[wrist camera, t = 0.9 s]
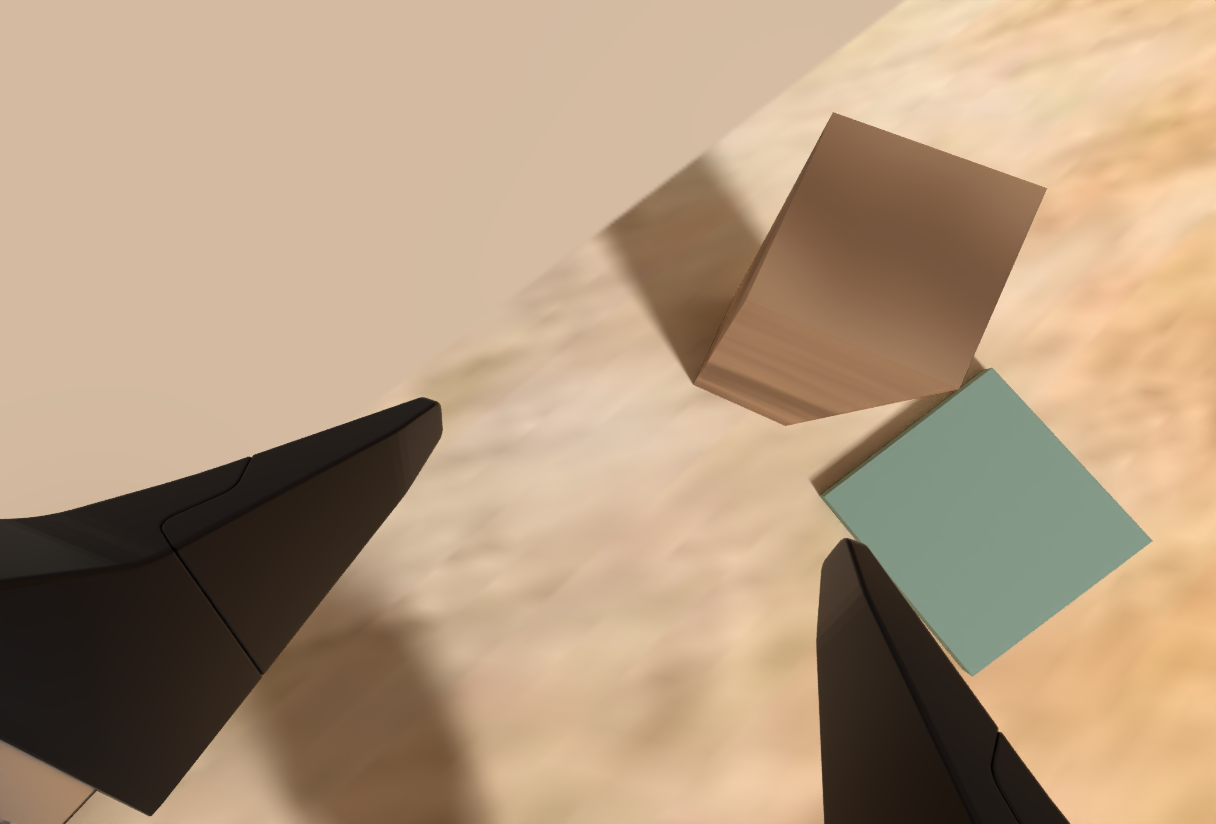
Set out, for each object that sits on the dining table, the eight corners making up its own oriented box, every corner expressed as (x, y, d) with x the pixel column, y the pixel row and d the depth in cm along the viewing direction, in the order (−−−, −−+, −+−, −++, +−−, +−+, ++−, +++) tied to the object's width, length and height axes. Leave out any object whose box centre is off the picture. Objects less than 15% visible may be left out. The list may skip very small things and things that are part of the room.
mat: (1138, 538, 21) (1152, 540, 20) (963, 670, 21) (972, 676, 21) (983, 370, 22) (992, 367, 22) (819, 495, 22) (824, 496, 22)
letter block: (785, 425, 23) (959, 389, 10) (693, 384, 24) (746, 300, 11) (827, 333, 23) (1049, 182, 10) (734, 295, 24) (835, 107, 11)
